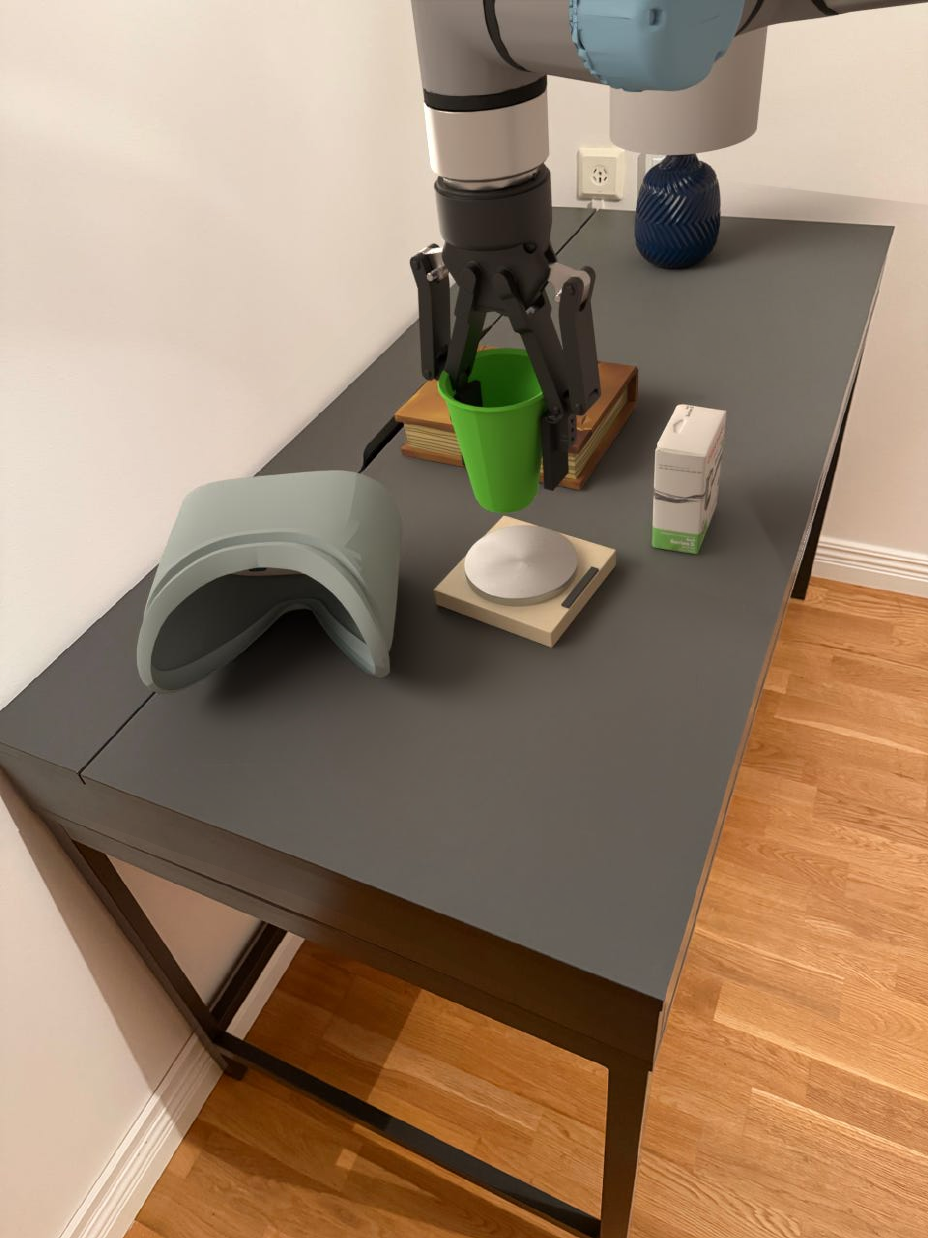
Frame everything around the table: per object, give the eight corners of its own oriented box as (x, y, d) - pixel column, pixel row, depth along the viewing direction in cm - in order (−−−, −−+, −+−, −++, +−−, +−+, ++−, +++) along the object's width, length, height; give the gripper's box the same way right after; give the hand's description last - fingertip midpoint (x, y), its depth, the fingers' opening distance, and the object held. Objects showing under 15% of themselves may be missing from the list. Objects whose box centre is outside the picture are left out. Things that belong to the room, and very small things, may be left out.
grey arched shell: (411, 567, 92) (390, 462, 83) (402, 707, 78) (376, 600, 70) (203, 584, 94) (162, 484, 85) (159, 725, 80) (104, 623, 71)
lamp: (584, 273, 139) (580, -11, 114) (648, 226, 150) (657, -44, 124) (705, 296, 129) (730, -10, 104) (764, 244, 140) (800, -46, 114)
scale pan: (597, 551, 88) (597, 543, 87) (542, 620, 82) (541, 612, 81) (502, 521, 93) (502, 513, 92) (443, 584, 87) (442, 577, 86)
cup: (575, 474, 76) (574, 355, 68) (536, 538, 70) (530, 416, 63) (479, 456, 79) (467, 341, 71) (434, 517, 73) (416, 398, 66)
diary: (637, 405, 110) (638, 362, 106) (580, 491, 98) (578, 446, 94) (472, 379, 119) (467, 338, 115) (401, 454, 108) (393, 412, 104)
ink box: (698, 556, 88) (707, 456, 80) (649, 547, 90) (653, 448, 82) (717, 506, 94) (728, 407, 86) (671, 498, 96) (677, 401, 88)
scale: (616, 565, 89) (616, 547, 87) (551, 648, 82) (550, 631, 80) (505, 530, 95) (503, 513, 93) (436, 604, 88) (433, 587, 86)
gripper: (661, 161, 54) (647, 473, 70) (400, 139, 63) (440, 420, 79) (606, 206, 50) (604, 527, 66) (334, 175, 59) (390, 464, 75)
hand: (514, 468), depth 73 cm, fingers closed on cup, 7 cm apart
